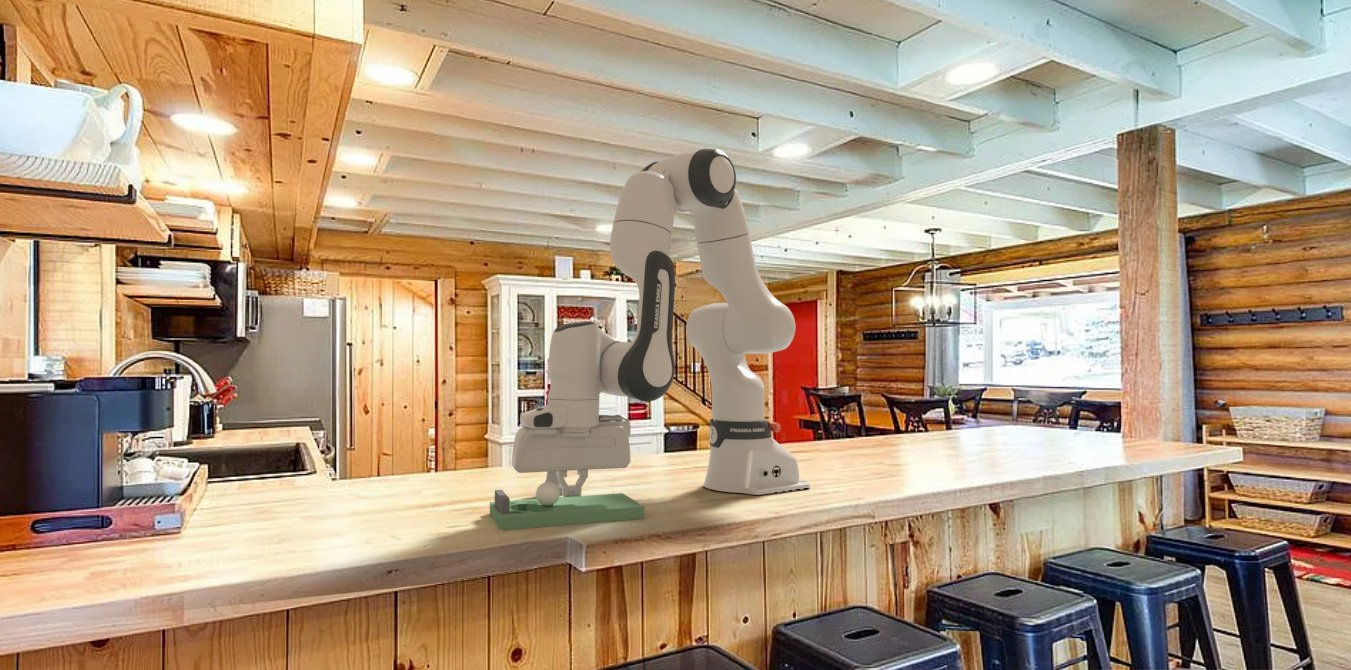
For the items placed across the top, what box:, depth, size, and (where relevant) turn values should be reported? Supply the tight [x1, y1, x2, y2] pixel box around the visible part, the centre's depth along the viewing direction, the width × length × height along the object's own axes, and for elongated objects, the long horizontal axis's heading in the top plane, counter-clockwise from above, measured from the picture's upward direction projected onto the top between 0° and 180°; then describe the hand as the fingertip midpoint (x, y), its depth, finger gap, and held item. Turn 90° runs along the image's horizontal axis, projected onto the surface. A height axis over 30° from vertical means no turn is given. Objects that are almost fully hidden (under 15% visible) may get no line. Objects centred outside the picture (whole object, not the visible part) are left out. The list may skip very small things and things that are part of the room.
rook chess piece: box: [544, 471, 563, 497], centre depth 140 cm, size 4×4×8 cm
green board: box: [489, 489, 645, 531], centre depth 122 cm, size 24×12×4 cm, turn 112°
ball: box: [535, 481, 561, 506], centre depth 121 cm, size 4×4×4 cm
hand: (571, 496), depth 122 cm, fingers closed
